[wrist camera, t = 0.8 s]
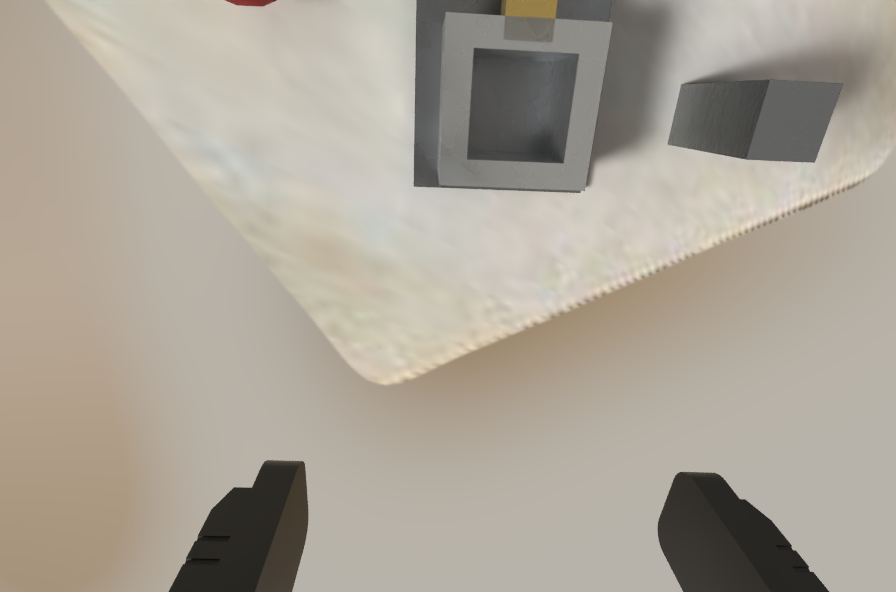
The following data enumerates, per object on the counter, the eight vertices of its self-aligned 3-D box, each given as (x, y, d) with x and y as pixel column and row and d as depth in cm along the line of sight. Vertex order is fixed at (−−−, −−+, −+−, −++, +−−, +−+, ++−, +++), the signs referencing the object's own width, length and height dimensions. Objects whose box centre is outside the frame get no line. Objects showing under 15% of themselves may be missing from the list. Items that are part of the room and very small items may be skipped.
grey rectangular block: (681, 84, 28) (770, 79, 21) (736, 87, 29) (843, 83, 21) (667, 144, 30) (746, 159, 22) (719, 146, 30) (814, 162, 23)
